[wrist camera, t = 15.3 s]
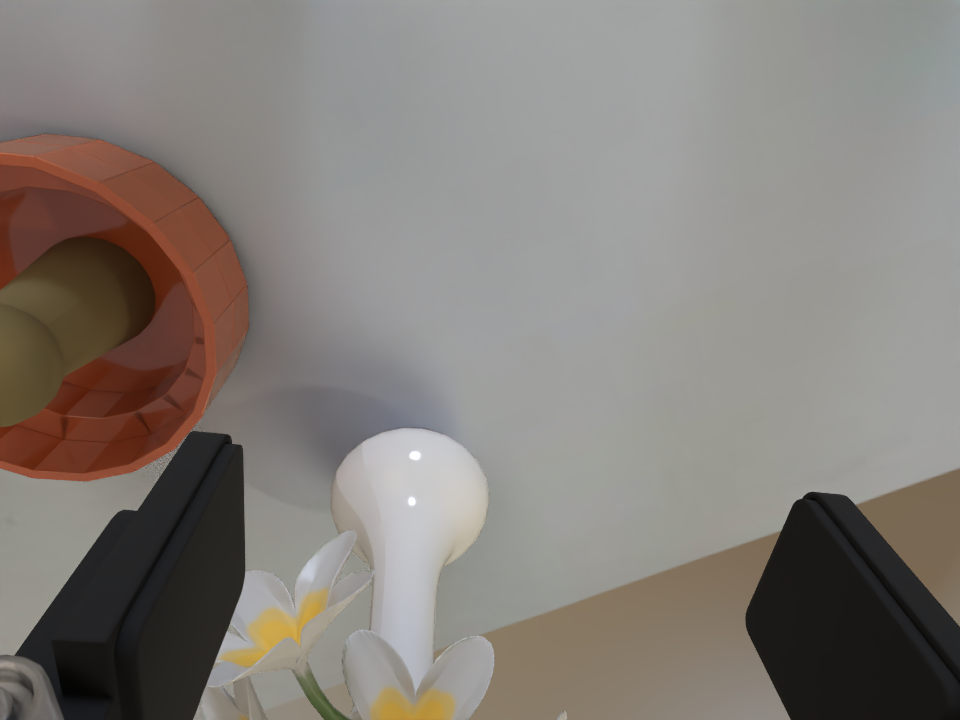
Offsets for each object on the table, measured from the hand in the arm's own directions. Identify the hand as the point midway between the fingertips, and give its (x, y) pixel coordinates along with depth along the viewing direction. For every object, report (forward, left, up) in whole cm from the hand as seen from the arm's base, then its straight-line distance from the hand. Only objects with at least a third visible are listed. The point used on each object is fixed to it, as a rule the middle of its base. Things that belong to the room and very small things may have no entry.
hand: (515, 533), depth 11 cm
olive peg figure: (+6, -19, -26) cm, 33 cm away
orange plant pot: (+6, -19, -26) cm, 33 cm away
